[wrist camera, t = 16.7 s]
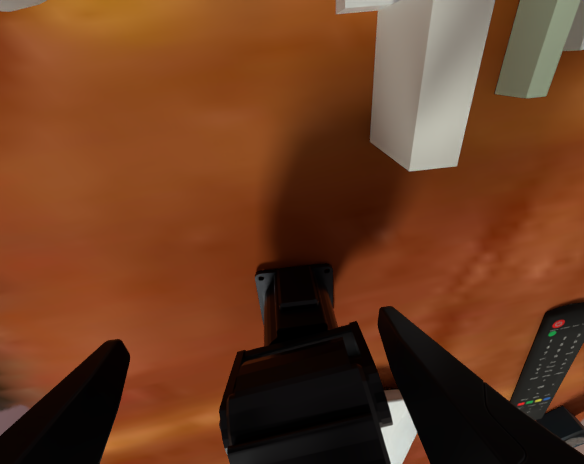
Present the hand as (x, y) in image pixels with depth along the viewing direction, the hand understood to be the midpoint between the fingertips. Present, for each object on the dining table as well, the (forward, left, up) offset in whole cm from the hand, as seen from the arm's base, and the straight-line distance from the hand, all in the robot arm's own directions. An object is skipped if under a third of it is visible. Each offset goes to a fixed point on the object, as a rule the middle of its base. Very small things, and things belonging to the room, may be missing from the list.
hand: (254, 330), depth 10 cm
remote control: (-28, -32, -13) cm, 45 cm away
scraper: (+8, -9, -12) cm, 17 cm away
